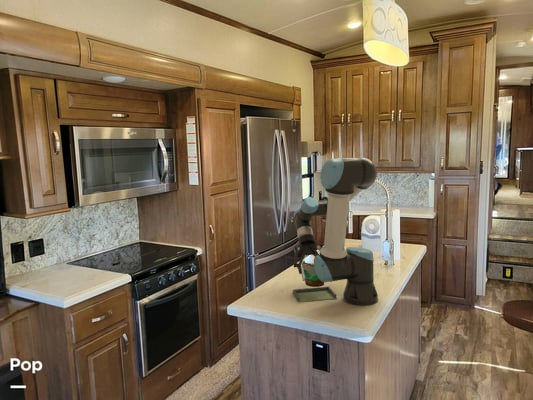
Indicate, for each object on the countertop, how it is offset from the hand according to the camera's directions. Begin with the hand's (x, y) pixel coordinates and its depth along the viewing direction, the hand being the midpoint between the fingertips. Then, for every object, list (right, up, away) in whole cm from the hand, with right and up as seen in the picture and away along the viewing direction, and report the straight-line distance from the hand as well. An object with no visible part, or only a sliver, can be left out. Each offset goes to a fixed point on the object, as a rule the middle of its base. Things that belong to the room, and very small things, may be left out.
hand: (314, 278), depth 187 cm
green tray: (0, -9, +4) cm, 10 cm away
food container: (-1, -4, +3) cm, 5 cm away
